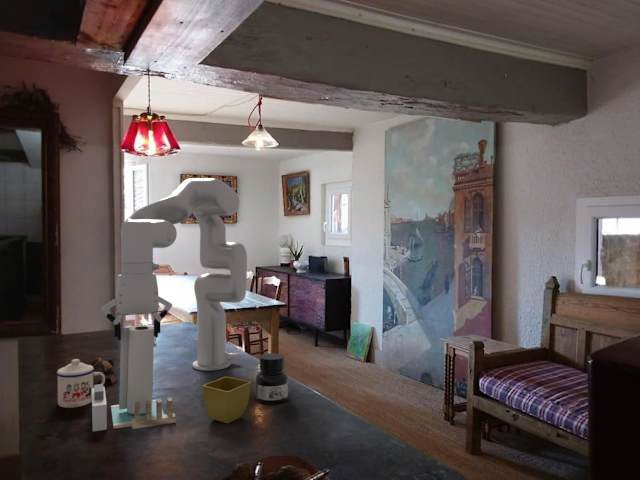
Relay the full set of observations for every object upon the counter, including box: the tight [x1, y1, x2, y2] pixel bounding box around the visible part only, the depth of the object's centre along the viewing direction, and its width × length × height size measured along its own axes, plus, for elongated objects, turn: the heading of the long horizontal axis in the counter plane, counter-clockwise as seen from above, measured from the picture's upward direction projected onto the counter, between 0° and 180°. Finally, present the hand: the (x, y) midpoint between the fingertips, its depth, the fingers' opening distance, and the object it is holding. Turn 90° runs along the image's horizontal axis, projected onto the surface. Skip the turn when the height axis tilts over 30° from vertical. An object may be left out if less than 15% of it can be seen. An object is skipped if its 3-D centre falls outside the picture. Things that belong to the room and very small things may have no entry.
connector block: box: [91, 383, 108, 433], centre depth 124 cm, size 3×14×8 cm, turn 25°
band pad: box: [110, 399, 165, 430], centre depth 128 cm, size 12×14×1 cm
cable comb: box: [131, 397, 177, 430], centre depth 122 cm, size 10×2×6 cm, turn 115°
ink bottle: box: [255, 353, 289, 405], centre depth 140 cm, size 10×9×12 cm
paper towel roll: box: [118, 325, 155, 414], centre depth 128 cm, size 7×6×21 cm
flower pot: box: [202, 376, 252, 424], centre depth 125 cm, size 9×9×9 cm
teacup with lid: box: [56, 358, 106, 409], centre depth 136 cm, size 12×9×12 cm
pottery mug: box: [86, 357, 118, 385], centre depth 155 cm, size 12×10×8 cm
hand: (137, 337), depth 127 cm, fingers open, 8 cm apart
